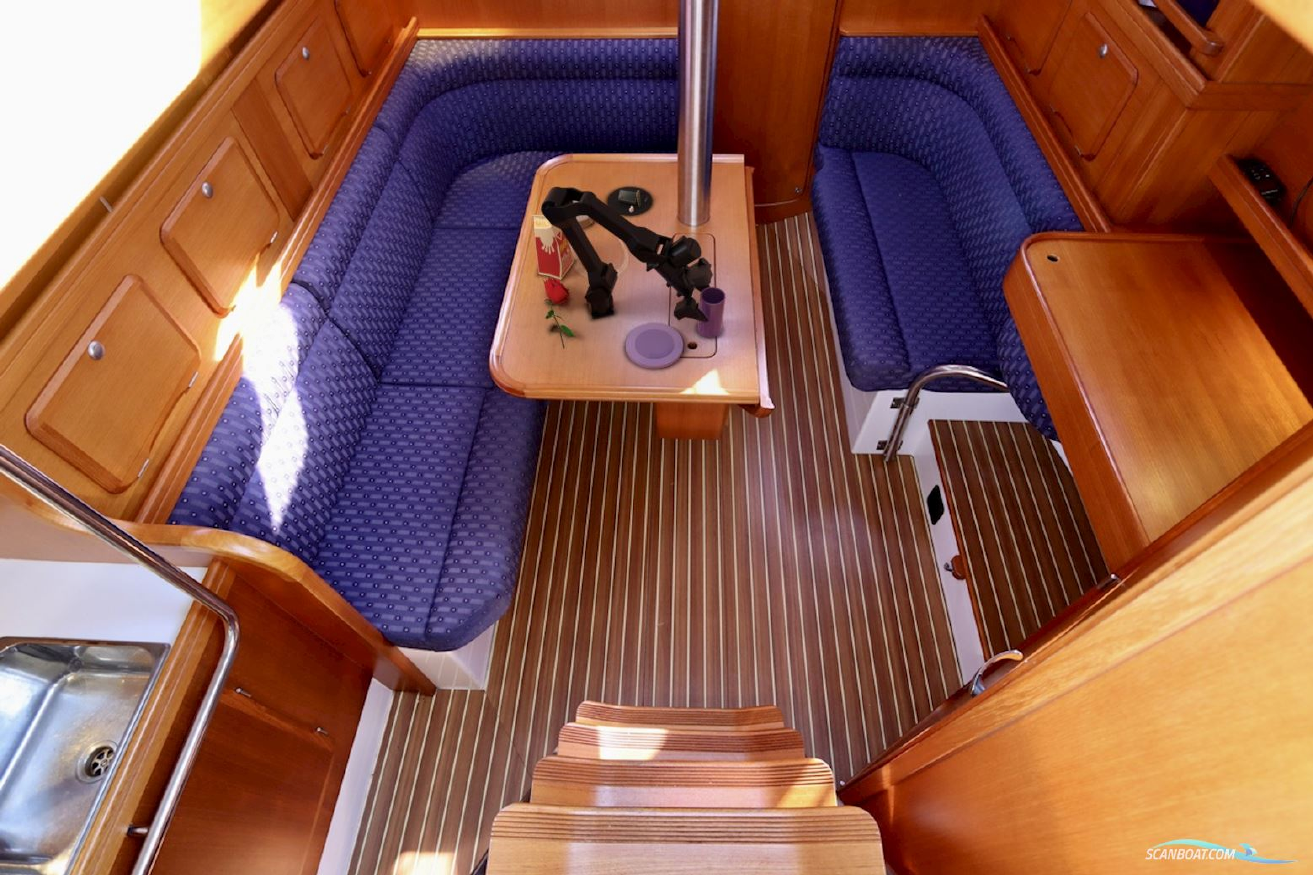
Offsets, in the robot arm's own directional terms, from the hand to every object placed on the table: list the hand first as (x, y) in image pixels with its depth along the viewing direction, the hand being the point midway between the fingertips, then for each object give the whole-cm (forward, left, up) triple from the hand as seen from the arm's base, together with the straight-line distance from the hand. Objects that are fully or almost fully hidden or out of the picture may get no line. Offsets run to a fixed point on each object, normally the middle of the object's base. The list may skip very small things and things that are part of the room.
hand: (710, 309), depth 179 cm
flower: (-39, +17, -8) cm, 43 cm away
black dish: (-3, +63, -8) cm, 63 cm away
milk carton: (-35, +40, -8) cm, 54 cm away
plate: (-17, -1, -8) cm, 19 cm away
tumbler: (0, 0, -8) cm, 8 cm away
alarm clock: (-22, +62, -8) cm, 66 cm away
